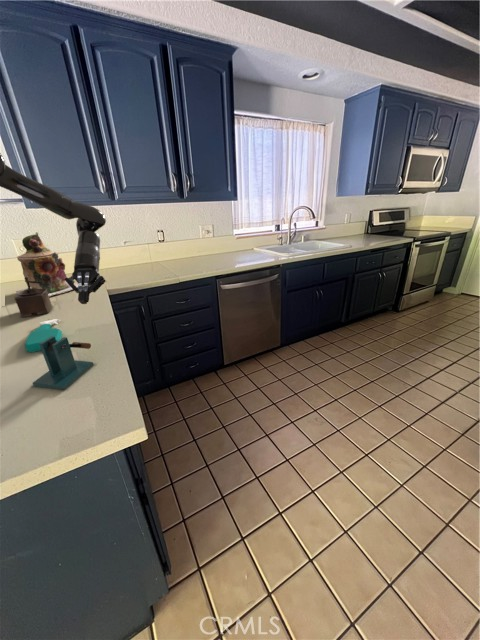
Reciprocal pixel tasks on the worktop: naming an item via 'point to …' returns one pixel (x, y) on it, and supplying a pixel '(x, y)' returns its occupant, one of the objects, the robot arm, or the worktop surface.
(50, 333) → the spray bottle
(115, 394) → the worktop surface
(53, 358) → the teal lever stand
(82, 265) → the robot arm
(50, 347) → the lever handle
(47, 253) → the cookie jar
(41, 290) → the manual coffee grinder
